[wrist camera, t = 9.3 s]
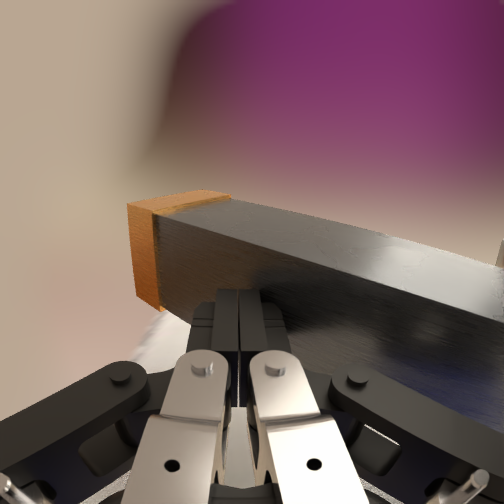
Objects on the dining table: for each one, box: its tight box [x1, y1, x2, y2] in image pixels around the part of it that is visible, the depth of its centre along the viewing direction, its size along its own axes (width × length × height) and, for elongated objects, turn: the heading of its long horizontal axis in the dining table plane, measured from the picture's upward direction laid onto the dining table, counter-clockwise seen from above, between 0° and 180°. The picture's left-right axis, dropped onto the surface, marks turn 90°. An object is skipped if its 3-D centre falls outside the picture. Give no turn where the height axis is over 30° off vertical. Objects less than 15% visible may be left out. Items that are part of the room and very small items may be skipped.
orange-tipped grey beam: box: [127, 189, 504, 434], centre depth 12 cm, size 20×5×5 cm, turn 51°
